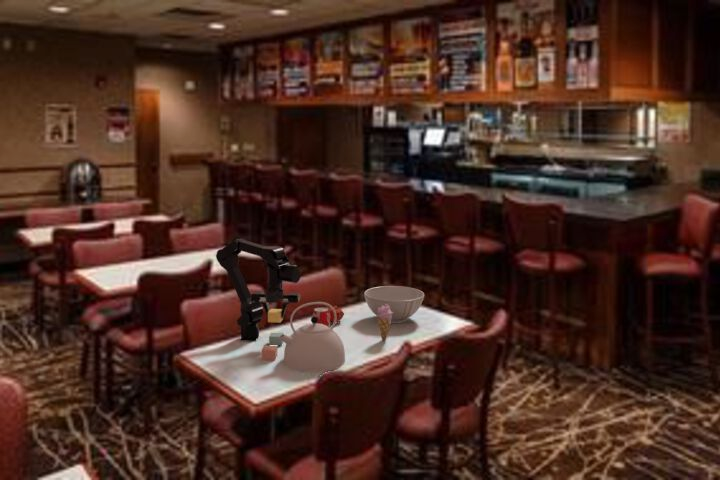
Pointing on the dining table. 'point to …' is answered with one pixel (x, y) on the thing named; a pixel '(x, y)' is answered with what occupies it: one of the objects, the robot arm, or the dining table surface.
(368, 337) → the dining table surface
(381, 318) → the ice cream cone
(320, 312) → the soda can
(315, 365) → the kettle
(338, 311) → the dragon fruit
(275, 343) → the teal base brick
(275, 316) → the mustard brick
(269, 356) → the terracotta brick
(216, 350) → the dining table surface
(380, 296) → the decorative bowl
